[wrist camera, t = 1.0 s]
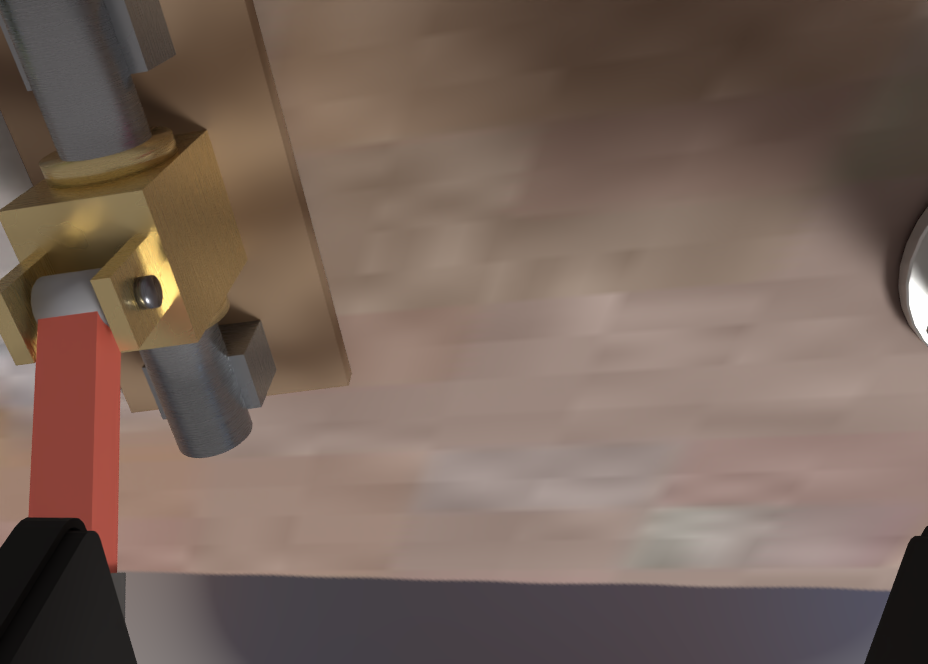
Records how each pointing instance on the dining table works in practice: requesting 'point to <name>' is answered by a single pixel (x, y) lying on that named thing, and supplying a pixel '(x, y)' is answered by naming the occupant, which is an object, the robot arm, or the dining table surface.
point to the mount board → (226, 184)
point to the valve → (131, 218)
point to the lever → (76, 411)
